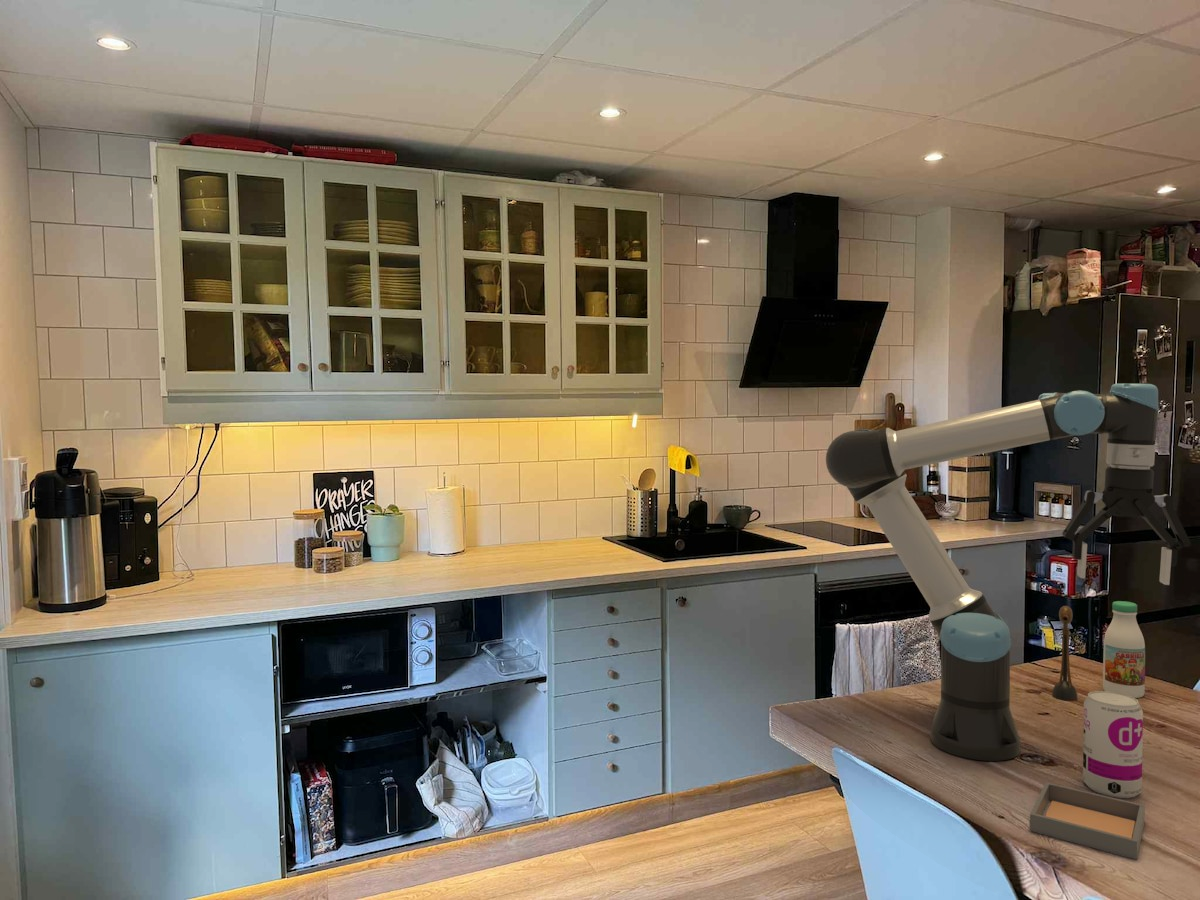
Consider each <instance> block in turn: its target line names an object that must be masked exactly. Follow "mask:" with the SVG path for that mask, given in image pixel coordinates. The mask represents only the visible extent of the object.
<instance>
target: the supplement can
mask: <svg viewBox="0 0 1200 900" xmlns="http://www.w3.org/2000/svg"><path fill="white" fill-rule="evenodd" d="M1082 735H1083V737H1082V738H1083V741H1082V742H1083V748H1082V753H1083V754H1082V758H1083V760H1082V781H1083V782H1084V783H1085V785H1087V786H1088V788H1089V789H1090V790H1092V791H1094V792H1095V793H1099V795H1104V796H1108V797H1112V798H1116V799H1131V798H1135V797H1136V796H1138V795H1140V793H1142V792H1143V744H1144V743H1143V738H1144V712H1143V709H1142V707H1141V705H1140V703H1139V700H1138V698H1133V697H1131V696H1129V695H1125V694H1121V693H1116V692H1109V691H1104V690H1095V691H1091V692H1089V693H1088V694H1087V696H1086V698H1085V699H1084V701H1083V734H1082Z"/></svg>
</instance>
